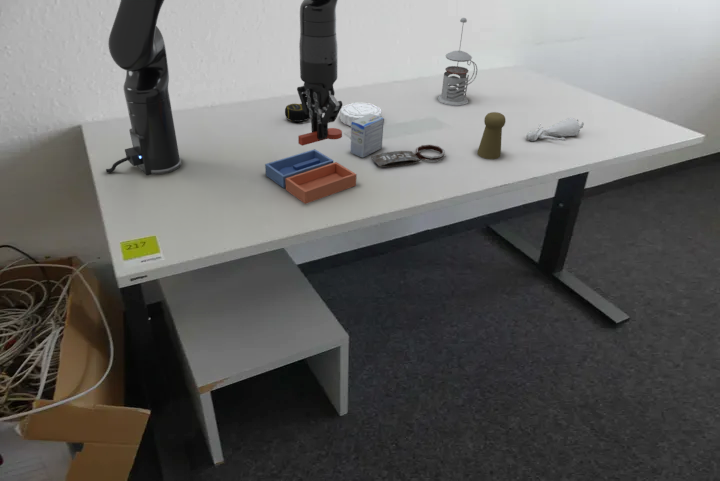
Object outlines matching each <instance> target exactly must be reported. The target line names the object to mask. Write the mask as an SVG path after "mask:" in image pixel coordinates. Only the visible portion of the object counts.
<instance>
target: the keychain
mask: <svg viewBox="0 0 720 481" xmlns="http://www.w3.org/2000/svg"><path fill="white" fill-rule="evenodd" d="M427 150H430V151H435V152H439V153H440V154H439V155H427V154H422V153H421V152H422V151H427ZM445 155H446V151H445V149H444V148H442V147H441V146H438V145H435V144H421V145H418V146H417V147H416V148H415V152H413V151H411V150H394V151H386V152H382V153H379V154H375V155H371V156H370V158H371V159H372V160H373V161H374V163H375V164H376V165H377V166H378V167H379V168H395V167H402V166H409V165H414V164H416V163H419V162H421V160H423V161H426V162H439V161H441V160H443V159H444V157H445Z"/></svg>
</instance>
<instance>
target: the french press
mask: <svg viewBox="0 0 720 481" xmlns="http://www.w3.org/2000/svg"><path fill="white" fill-rule="evenodd" d="M459 22H460V23H462V28H461V32H464V31H463V30H464V23H467V22H468V19H467V18H466V17H461V18H460V19H459ZM462 38H463V33H461V34H460V43H459V47H462V46H461V45H462V40H463V39H462ZM445 58H446V59H447V60H449V61H451V62H457V65H451V66H450V65H449V66H447V67H445V72H444V73H443V78H442V87H441V94H440V95H439V96H438V97H437V101H438V102H440V103H441V104H445V105H448V106H464V105H466V104H468V103H469V100H468V98H467V90H468V86H469V85H470V84H472V83H473V82H474V81H475V79H476V77H477V75H478V66H477V64H476V63H475V62H474V61H473V60H472V59H473V56H472V55H471V54H469V53H468V52H467V51H463V50H461V48H459V49H458V50H453V51H450V52H448V53H445ZM465 62H467V63H466V64H467V66H470V65H471V64H472V65H473V73H472V76H471V77H470V75H469V74H468V73H469V70H470V69H468V68H467V67H463V66H459V63H465ZM475 70H476V71H475ZM450 75H451V76H450ZM455 75H456V76H455ZM474 75H475V76H474ZM458 76H459V77H458ZM473 77H474V78H473ZM472 79H473V80H472ZM471 80H472V81H471Z"/></svg>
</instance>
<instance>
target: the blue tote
mask: <svg viewBox="0 0 720 481" xmlns="http://www.w3.org/2000/svg"><path fill="white" fill-rule="evenodd" d="M314 158H318V159H319V160H320V164H316V165H313V166H310V167H307V168H304V169H301V170H298V171H295V172H291V173H288V174H285V175H283V174H282V173H280V170H281V169H282V168H286V167H291V168H293V165H296V164H299V163H302V162H305V161H308V160H311V159H314ZM331 163H334V160H333V159H332V158H330V156H329V157H328V156H327V155H326V154H324V153H322V152H320V151H319V150H317V149H316V148H313V149H311V150H307V151H303V152H301V153H298V154H297V153H296V154H294V155H291V156H287V157H284V158H280V159H278V160H274V161H271V162H267V163H265V164H264V166H265V176H266V177H267V178H269V179H270V180H272V181H273V182H274V183H275V184H277V185H279V187H281V188H282V189H286V178H288V177H291V176H294V175H297V174H301V173H304V172H307V171H310V170H313V169H316V168H319V167H322V166H325V165H328V164H331Z"/></svg>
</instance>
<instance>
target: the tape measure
mask: <svg viewBox="0 0 720 481" xmlns="http://www.w3.org/2000/svg"><path fill="white" fill-rule="evenodd" d="M284 116H285V118H286V119H287V120H289V121H292V122H303V121H307V120H311V119H310V118H309V115H308V114H305V112H304V109H303V106H302V103H290V104H287V105H286V106H285V109H284Z"/></svg>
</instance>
